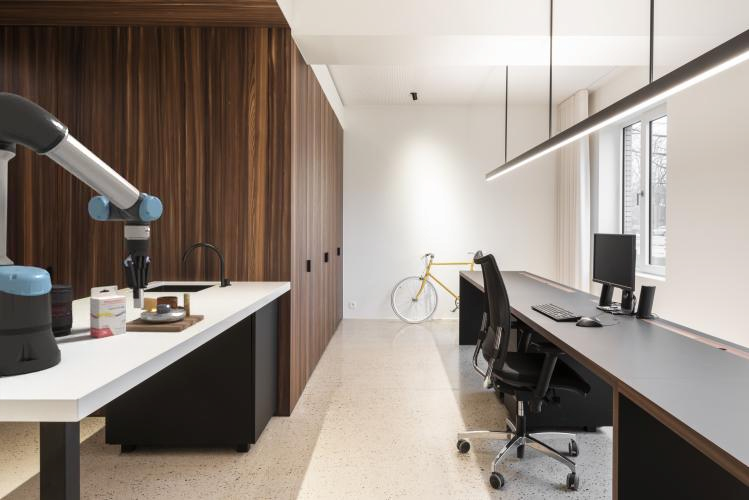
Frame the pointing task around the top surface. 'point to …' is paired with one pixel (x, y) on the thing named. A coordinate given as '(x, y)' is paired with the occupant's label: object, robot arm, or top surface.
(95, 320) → the ink cartridge box
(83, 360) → the top surface
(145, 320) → the flange plate
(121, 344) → the top surface
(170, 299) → the cup and saucer
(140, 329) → the walnut base
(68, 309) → the camera lens
